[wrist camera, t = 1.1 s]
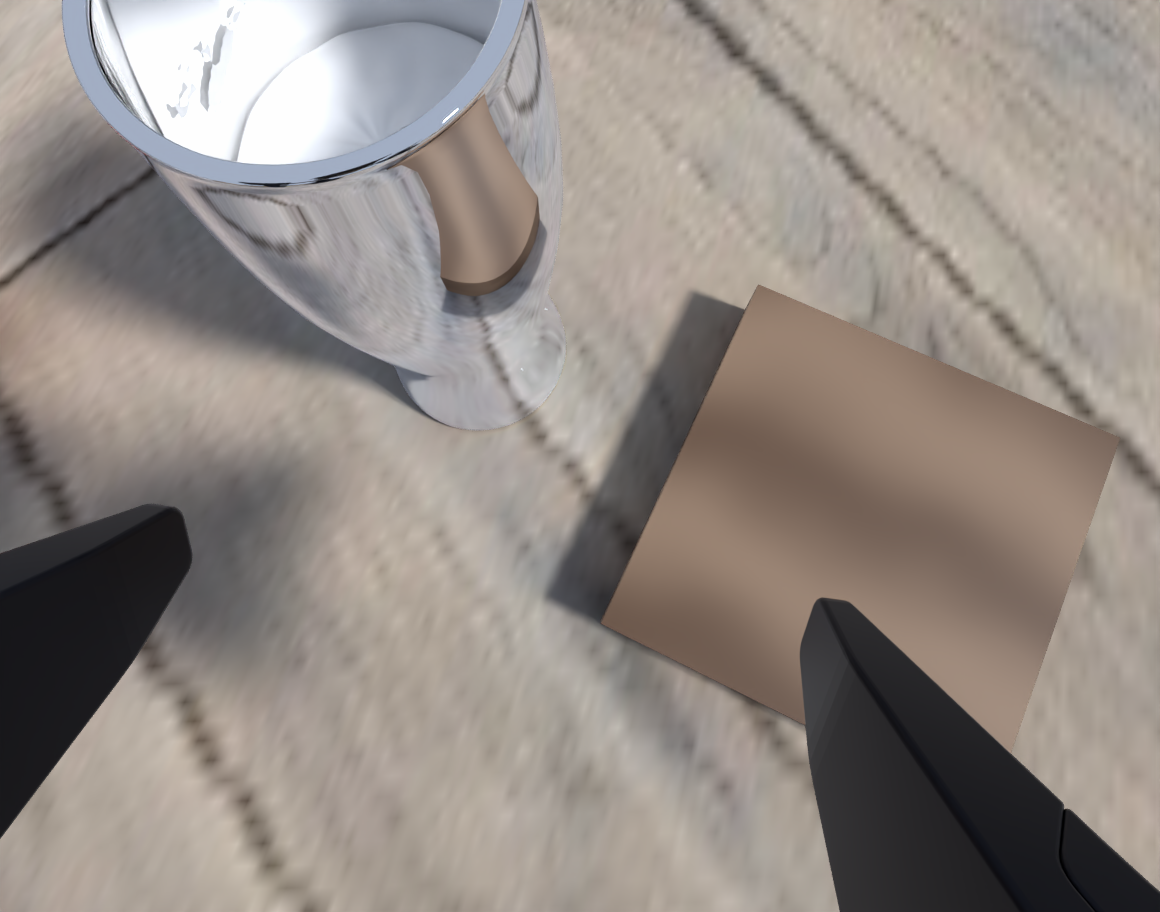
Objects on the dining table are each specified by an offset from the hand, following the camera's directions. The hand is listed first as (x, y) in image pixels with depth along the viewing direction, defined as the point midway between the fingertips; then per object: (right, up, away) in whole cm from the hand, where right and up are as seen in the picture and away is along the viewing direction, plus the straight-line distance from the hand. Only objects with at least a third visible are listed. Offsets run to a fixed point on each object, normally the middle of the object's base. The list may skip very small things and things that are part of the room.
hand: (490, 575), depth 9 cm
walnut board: (+10, -1, +13) cm, 16 cm away
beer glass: (-2, +5, +15) cm, 16 cm away
